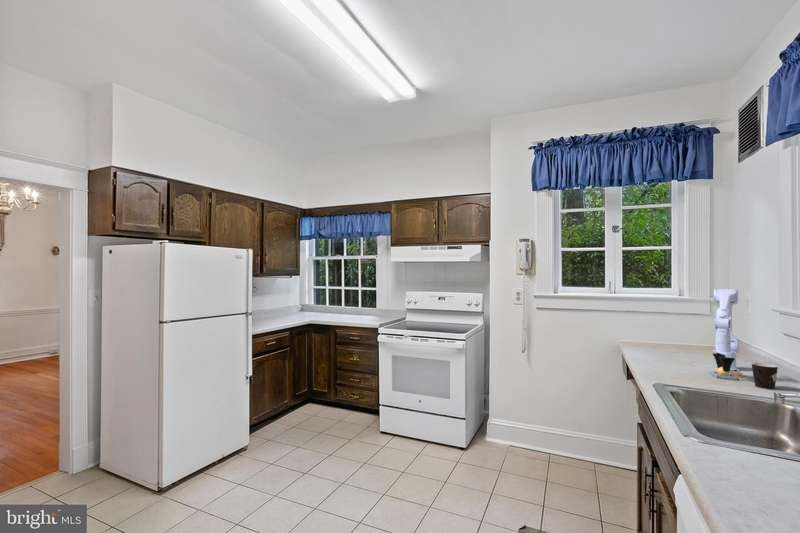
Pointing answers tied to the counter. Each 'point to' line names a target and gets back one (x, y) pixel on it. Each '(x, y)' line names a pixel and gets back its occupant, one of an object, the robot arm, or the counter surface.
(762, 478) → the counter surface
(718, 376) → the tray
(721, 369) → the ball
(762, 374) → the coffee mug
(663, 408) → the counter surface
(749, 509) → the counter surface
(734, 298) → the robot arm
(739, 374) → the dish
